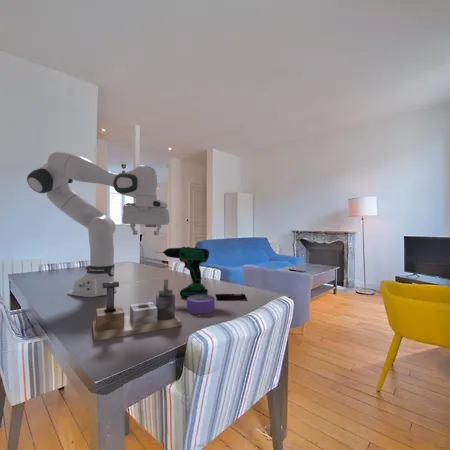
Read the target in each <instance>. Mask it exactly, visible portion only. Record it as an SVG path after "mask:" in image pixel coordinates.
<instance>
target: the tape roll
mask: <svg viewBox="0 0 450 450" xmlns="http://www.w3.org/2000/svg"><path fill="white" fill-rule="evenodd" d="M215 298H216V297H214V296H213V295H211V294H208V295H192V296H189V297H188V298H186V302H187V303H186V311H187V312H188V313H191V314H196V315H197V314H199V315H200V314H201V315H202V314H204V313H205V314H210V313H212V312H214V311H215V302H216V301H215V300H216V299H215ZM213 310H214V311H213ZM209 312H210V313H209ZM205 314H204V315H205Z"/></svg>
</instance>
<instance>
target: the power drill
mask: <svg viewBox="0 0 450 450" xmlns="http://www.w3.org/2000/svg"><path fill="white" fill-rule="evenodd" d="M156 253H161V254H163V255H165V257H167V258H173V259H179V261H180V262H181V263H182V262H183V263H184V267H183V268H184V269H187V270H188V271H189V275H190V277H191V281H192V283H190V284H189V285H187V287H184V288H182V289H181V290H180V291H179V296H180V297H181V298H185V299H187V298H188V297H189V296H192V295H209V294H208V291H209V290H208V289H207V288H206V286H205V285H204V284H203V283H202V273H201V268H200V264H202V263H207V262H208V259H209V258H210V257H209V256H210V251H209V250H208V249H206V248H201V247H197V246H195V247H191V246H187V247H186V246H181V247H172V248H171V247H170V248H167V249H165V250H164V251H156Z"/></svg>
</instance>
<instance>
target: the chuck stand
mask: <svg viewBox="0 0 450 450" xmlns="http://www.w3.org/2000/svg"><path fill="white" fill-rule="evenodd" d="M95 311H96V312H95V313H96V314H95V320H92V325H93V326H92V332H93V333H92V334H93V341H94V342H96V341H102V340H107V339H109V340H110V339H114V338H119V337H125V336H131V335H137V334H141V333H147V332H152V331H159V330H164V329H165V330H166V329H170V328H176V327H182V323H183V322H182V320H181V319H180V318H179V317H178V316H177V315H176V314H175V313H176V294H174V293H173V289H172V288H169V279H168V278H164V279H163V288H160V289H158V294H156V295H155V303H153V301H149V302H141V303H131V304H129V315H125V311H124V309H123V307H122V305H118V306H117V305H116V306H115V305H114V312H109V313H106V307H101V308H100V307H99V308H96V309H95Z"/></svg>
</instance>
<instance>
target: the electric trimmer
mask: <svg viewBox="0 0 450 450" xmlns="http://www.w3.org/2000/svg"><path fill="white" fill-rule="evenodd" d="M214 296H215V298H216V300H226V301H231V300H244V299H247V300H248V298H247V296H246V294H245V293H242V292H241V293H237V294H235V293H215V294H214Z"/></svg>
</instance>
